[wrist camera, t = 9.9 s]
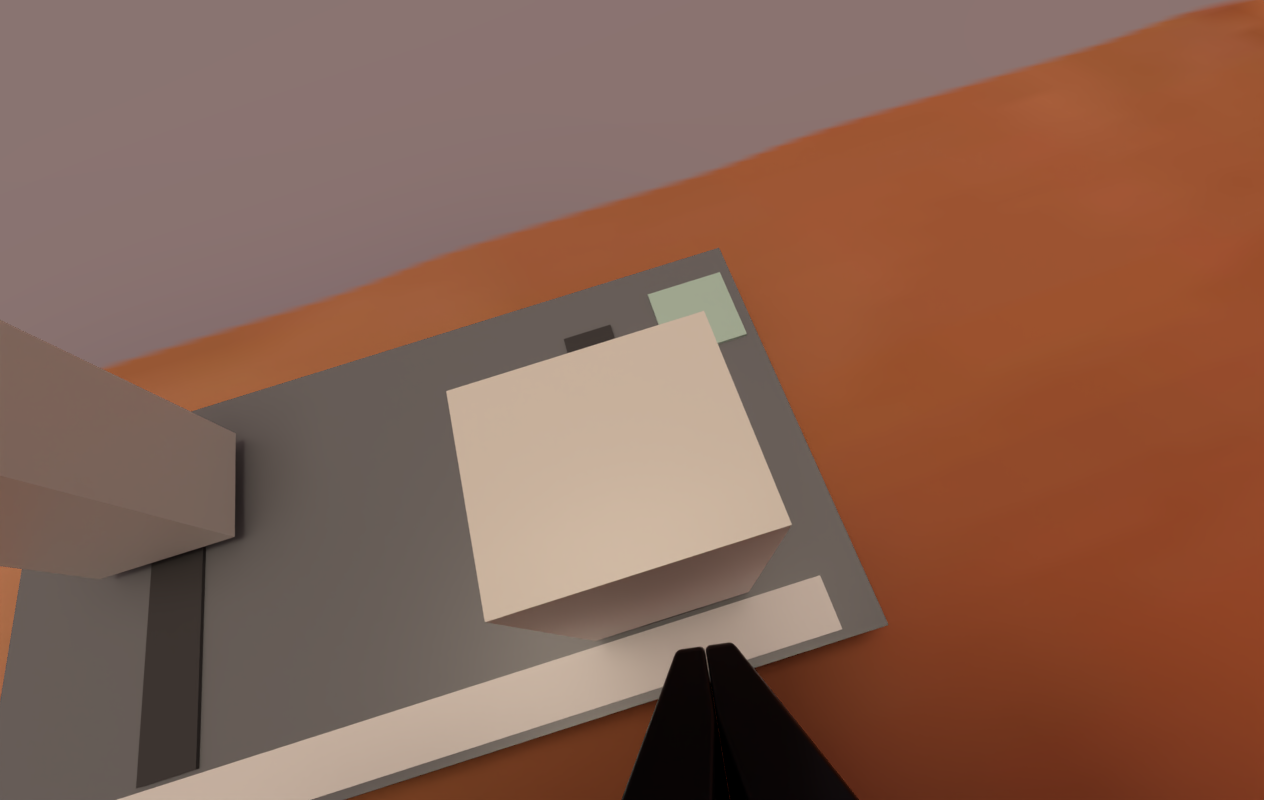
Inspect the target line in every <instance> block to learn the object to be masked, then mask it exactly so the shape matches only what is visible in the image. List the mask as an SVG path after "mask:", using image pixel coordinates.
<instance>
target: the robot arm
mask: <svg viewBox="0 0 1264 800" xmlns="http://www.w3.org/2000/svg"><path fill="white" fill-rule="evenodd" d="M706 657H707V659H706ZM707 663H708V665H707ZM708 669H709V671H708ZM709 675H710V677H709ZM710 681H711V683H710ZM711 687H712V689H711ZM712 693H713V695H712ZM713 699H714V701H713ZM714 705H715V707H714ZM715 711H716V713H715ZM716 717H717V719H716ZM717 723H718V725H717ZM718 729H719V731H718ZM719 735H720V737H719ZM720 741H721V743H720ZM721 747H722V749H721ZM722 753H723V755H722ZM723 759H724V761H723ZM724 765H725V767H724ZM725 771H726V773H725ZM726 777H727V779H726ZM727 783H728V785H727ZM728 789H729V791H728ZM729 795H730V797H729ZM622 800H859V799H858V798H857V797H856V795H855V794H854V793H853V792H852V790H851V789H850V788H849V787H848V785H847V784H846V783H845V782H844V780H843V779H842V778H841V777H840V775H839V774H838V773H837V772H836V770H835V769H834V768H833V767H832V765H831V764H830V763H829V762H828V760H827V759H826V758H825V757H824V755H823V754H822V753H821V752H820V750H819V749H818V748H817V747H816V745H815V744H814V743H813V742H812V740H811V739H810V738H809V737H808V735H807V734H806V733H805V732H804V730H803V729H802V728H801V727H800V725H799V724H798V723H797V722H796V720H795V719H794V718H793V717H792V715H791V714H790V713H789V712H788V710H787V709H786V708H785V707H784V705H783V704H782V703H781V702H780V700H779V699H778V698H777V697H776V695H775V694H774V693H773V692H772V690H771V689H770V688H769V687H768V685H767V684H766V683H765V682H764V680H763V679H762V678H761V677H760V675H759V674H758V673H757V672H756V670H755V669H754V668H753V667H752V665H751V664H750V663H749V662H748V660H747V659H746V658H745V657H744V655H743V654H742V653H741V652H740V650H739V649H738V648H737V647H736V646H735V645H734V644H733V643H731V642H728V643H721V644H713V645H708V646H707V647H706V653H705V649H704V648H703V647H693V648H686V649H680V650H678V651H677V652H676V653H675V655H674V658H673V660H672V663H671V666H670V669H669V671H668V674H667V677H666V680H665V682H664V685H663V688H662V690H661V693H660V696H659V699H658V701H657V704H656V707H655V710H654V712H653V715H652V718H651V721H650V723H649V726H648V729H647V731H646V734H645V737H644V740H643V742H642V745H641V748H640V751H639V753H638V756H637V759H636V761H635V764H634V767H633V770H632V772H631V775H630V778H629V781H628V783H627V786H626V789H625V791H624V794H623V797H622Z"/></svg>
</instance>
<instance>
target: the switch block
mask: <svg viewBox="0 0 1264 800" xmlns="http://www.w3.org/2000/svg"><path fill="white" fill-rule="evenodd" d="M702 311H704V312H705V314H706V317H707V319H708V321H709V324H710V326H711V329H712V331H713V334H714V336H715V338H716V341H717V343H718V346H719V348H720V351H721V353H722V356H723V358H724V360H725V363H726V365H727V368H728V370H729V373H730V375H731V377H732V380H733V382H734V385H735V387H736V390H737V392H738V394H739V397H740V399H741V402H742V404H743V407H744V409H745V411H746V414H747V416H748V419H749V421H750V424H751V426H752V429H753V431H754V433H755V436H756V438H757V441H758V443H759V446H760V448H761V450H762V453H763V455H764V458H765V460H766V463H767V465H768V467H769V470H770V472H771V475H772V477H773V480H774V482H775V484H776V487H777V489H778V492H779V494H780V497H781V499H782V502H783V504H784V506H785V509H786V511H787V514H788V516H789V519H790V521H791V523H792V525H791V527H790V529H789V530H788V532H787V533H786V535H785V536H784V538H783V539H782V541H781V543H780V544H779V546H778V547H777V549H776V550H775V552H774V553H773V555H772V557H771V558H770V560H769V561H768V563H767V564H766V566H765V567H764V569H763V571H762V572H761V574H760V575H759V577H758V578H757V580H756V581H755V583H754V585H753V586H752V588H751V589H750V591H749V592H747V593H744V594H741V595H738V596H735V597H732V598H729V599H725V600H722V601H719V602H716V603H713V604H710V605H707V606H704V607H700V608H697V609H694V610H691V611H688V612H685V613H682V614H678V615H675V616H672V617H669V618H666V619H663V620H660V621H657V622H653V623H650V624H647V625H644V626H641V627H638V628H635V629H631V630H628V631H625V632H622V633H619V634H616V635H613V636H610V637H606V638H603V639H600V640H597V641H592V640H586V639H580V638H574V637H569V636H563V635H557V634H551V633H545V632H539V631H533V630H527V629H521V628H516V627H510V626H504V625H498V624H492V623H486V622H485V620H484V614H483V608H482V602H481V596H480V590H479V584H478V578H477V572H476V566H475V560H474V554H473V548H472V542H471V537H470V531H469V525H468V519H467V513H466V507H465V501H464V495H463V489H462V483H461V477H460V471H459V465H458V459H457V453H456V447H455V441H454V435H453V429H452V423H451V417H450V411H449V405H448V399H447V393H446V391H448V390H452V389H455V388H458V387H461V386H464V385H468V384H471V383H474V382H477V381H480V380H484V379H487V378H490V377H493V376H496V375H500V374H503V373H506V372H509V371H512V370H516V369H519V368H522V367H525V366H528V365H532V364H535V363H538V362H541V361H544V360H548V359H551V358H554V357H557V356H561V355H564V354H567V353H570V352H573V351H577V350H580V349H583V348H586V347H589V346H593V345H596V344H599V343H602V342H605V341H609V340H612V339H615V338H618V337H621V336H625V335H628V334H631V333H634V332H637V331H641V330H644V329H647V328H650V327H653V326H657V325H660V324H663V323H666V322H670V321H673V320H676V319H679V318H682V317H686V316H689V315H692V314H695V313H698V312H702ZM192 413H194V414H196V415H198V416H201V417H203V418H205V419H207V420H209V421H211V422H213V423H215V424H217V425H219V426H221V427H223V428H225V429H227V430H230V431H232V432H234V433H236V454H235V537H233V538H230V539H226V540H223V541H220V542H217V543H214V544H210V545H207V546H204V547H201V548H198V549H195V550H191V551H188V552H185V553H182V554H179V555H175V556H172V557H169V558H166V559H163V560H159V561H156V562H153V563H150V564H147V565H144V566H140V567H137V568H134V569H131V570H128V571H124V572H121V573H118V574H115V575H112V576H108V577H105V578H102V579H94V578H87V577H79V576H72V575H64V574H57V573H49V572H42V571H34V570H27V569H22V572H21V578H20V584H19V590H18V596H17V602H16V608H15V615H14V621H13V627H12V633H11V639H10V645H9V651H8V657H7V663H6V670H5V676H4V682H3V688H2V694H1V700H0V800H345V799H348V798H351V797H354V796H357V795H360V794H363V793H366V792H370V791H373V790H376V789H379V788H382V787H385V786H388V785H391V784H395V783H398V782H401V781H404V780H407V779H410V778H413V777H416V776H419V775H423V774H426V773H429V772H432V771H435V770H438V769H441V768H444V767H447V766H451V765H454V764H457V763H460V762H463V761H466V760H469V759H472V758H475V757H479V756H482V755H485V754H488V753H491V752H494V751H497V750H500V749H504V748H507V747H510V746H513V745H516V744H519V743H522V742H525V741H528V740H532V739H535V738H538V737H541V736H544V735H547V734H550V733H553V732H556V731H560V730H563V729H566V728H569V727H572V726H575V725H578V724H581V723H585V722H588V721H591V720H594V719H597V718H600V717H603V716H606V715H609V714H613V713H616V712H619V711H622V710H625V709H628V708H631V707H634V706H637V705H641V704H644V703H647V702H650V701H653V700H656V699H659V696H660V693H661V690H662V688H663V685H664V682H665V680H666V677H667V674H668V671H669V669H670V666H671V663H672V660H673V658H674V655H675V653H676V652H677V651H678V650H680V649H686V648H693V647H703V648H704V649H705V653H706V647H707V646H708V645H713V644H721V643H728V642H731V643H733V644H734V645H735V646H736V647H737V648H738V649H739V650H740V652H741V653H742V654H743V655H744V657H745V658H746V659H747V660H748V662H749V663H750V664H751V665H752V667H753V668H756V667H759V666H762V665H765V664H768V663H771V662H775V661H778V660H781V659H784V658H787V657H790V656H793V655H796V654H799V653H803V652H806V651H809V650H812V649H815V648H818V647H821V646H824V645H827V644H831V643H834V642H837V641H840V640H843V639H846V638H849V637H852V636H856V635H859V634H862V633H865V632H868V631H871V630H874V629H877V628H880V627H884V626H887V625H888V623H887V620H886V618H885V616H884V614H883V612H882V609H881V607H880V605H879V603H878V600H877V598H876V596H875V594H874V592H873V589H872V587H871V585H870V583H869V580H868V578H867V576H866V574H865V572H864V569H863V567H862V565H861V563H860V560H859V558H858V556H857V554H856V551H855V549H854V547H853V545H852V543H851V540H850V538H849V536H848V534H847V531H846V529H845V527H844V525H843V523H842V520H841V518H840V516H839V514H838V511H837V509H836V507H835V505H834V503H833V500H832V498H831V496H830V494H829V491H828V489H827V487H826V485H825V483H824V480H823V478H822V476H821V474H820V471H819V469H818V467H817V465H816V463H815V460H814V458H813V456H812V454H811V451H810V449H809V447H808V445H807V443H806V440H805V438H804V436H803V434H802V431H801V429H800V427H799V425H798V422H797V420H796V418H795V416H794V414H793V411H792V409H791V407H790V405H789V402H788V400H787V398H786V396H785V394H784V391H783V389H782V387H781V385H780V382H779V380H778V378H777V376H776V374H775V371H774V369H773V367H772V365H771V362H770V360H769V358H768V356H767V354H766V351H765V349H764V347H763V345H762V342H761V340H760V338H759V336H758V334H757V331H756V329H755V327H754V325H753V322H752V320H751V318H750V316H749V314H748V311H747V309H746V307H745V305H744V302H743V300H742V298H741V296H740V293H739V291H738V289H737V287H736V285H735V282H734V280H733V278H732V276H731V273H730V271H729V269H728V267H727V265H726V262H725V260H724V258H723V256H722V253H721V251H720V249H719V248H717V249H714V250H710V251H707V252H704V253H701V254H698V255H694V256H691V257H688V258H685V259H681V260H678V261H675V262H672V263H669V264H665V265H662V266H659V267H656V268H652V269H649V270H646V271H643V272H640V273H636V274H633V275H630V276H627V277H624V278H620V279H617V280H614V281H611V282H607V283H604V284H601V285H598V286H595V287H591V288H588V289H585V290H582V291H578V292H575V293H572V294H569V295H566V296H562V297H559V298H556V299H553V300H549V301H546V302H543V303H540V304H537V305H533V306H530V307H527V308H524V309H520V310H517V311H514V312H511V313H508V314H504V315H501V316H498V317H495V318H491V319H488V320H485V321H482V322H479V323H475V324H472V325H469V326H466V327H462V328H459V329H456V330H453V331H450V332H446V333H443V334H440V335H437V336H433V337H430V338H427V339H424V340H421V341H417V342H414V343H411V344H408V345H405V346H401V347H398V348H395V349H392V350H388V351H385V352H382V353H379V354H376V355H372V356H369V357H366V358H363V359H359V360H356V361H353V362H350V363H347V364H343V365H340V366H337V367H334V368H330V369H327V370H324V371H321V372H318V373H314V374H311V375H308V376H305V377H301V378H298V379H295V380H292V381H289V382H285V383H282V384H279V385H276V386H272V387H269V388H266V389H263V390H260V391H256V392H253V393H250V394H247V395H243V396H240V397H237V398H234V399H231V400H227V401H224V402H221V403H218V404H214V405H211V406H208V407H205V408H202V409H198V410H195V411H192ZM706 659H707V657H706ZM707 665H708V663H707ZM708 671H709V669H708ZM709 677H710V675H709ZM710 682H711V681H710Z"/></svg>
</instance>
